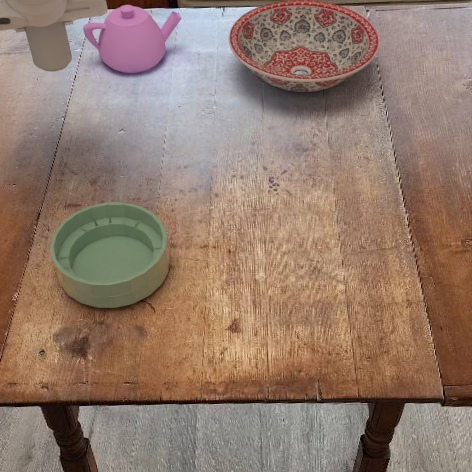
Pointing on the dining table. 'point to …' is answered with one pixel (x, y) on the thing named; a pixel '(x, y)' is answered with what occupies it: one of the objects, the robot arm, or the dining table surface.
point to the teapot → (131, 39)
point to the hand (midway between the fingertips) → (43, 23)
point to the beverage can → (49, 46)
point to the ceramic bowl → (303, 43)
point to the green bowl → (110, 254)
